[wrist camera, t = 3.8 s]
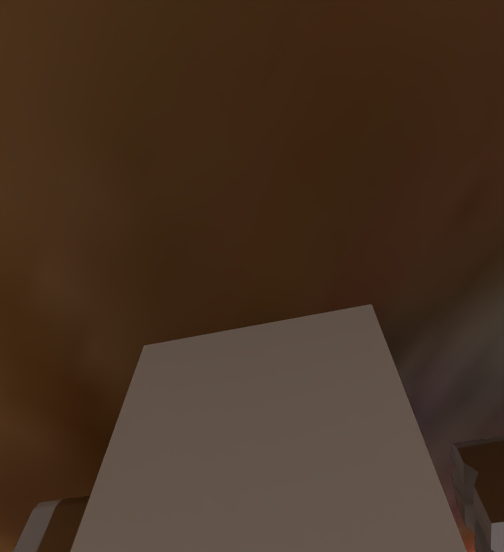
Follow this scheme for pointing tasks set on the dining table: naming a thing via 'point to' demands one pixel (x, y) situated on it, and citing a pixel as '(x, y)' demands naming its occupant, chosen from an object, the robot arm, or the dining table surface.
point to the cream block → (269, 448)
